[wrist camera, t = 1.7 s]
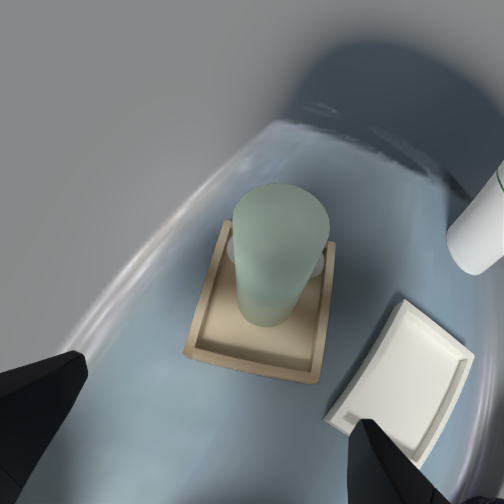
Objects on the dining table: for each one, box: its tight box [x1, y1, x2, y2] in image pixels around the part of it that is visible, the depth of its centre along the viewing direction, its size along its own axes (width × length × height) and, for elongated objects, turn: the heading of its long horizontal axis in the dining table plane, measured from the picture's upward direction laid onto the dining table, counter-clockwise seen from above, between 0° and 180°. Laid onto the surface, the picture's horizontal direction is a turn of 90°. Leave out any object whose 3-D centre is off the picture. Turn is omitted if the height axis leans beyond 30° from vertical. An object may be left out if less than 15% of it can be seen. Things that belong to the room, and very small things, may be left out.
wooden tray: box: [183, 220, 336, 384], centre depth 23 cm, size 12×10×2 cm
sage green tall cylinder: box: [232, 184, 330, 327], centre depth 18 cm, size 5×5×11 cm
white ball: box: [308, 253, 324, 280], centre depth 23 cm, size 3×3×3 cm
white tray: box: [323, 299, 475, 469], centre depth 19 cm, size 12×10×2 cm
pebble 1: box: [227, 236, 235, 264], centre depth 23 cm, size 3×3×3 cm
